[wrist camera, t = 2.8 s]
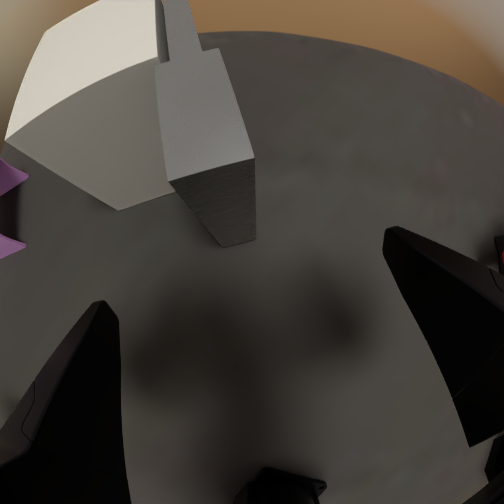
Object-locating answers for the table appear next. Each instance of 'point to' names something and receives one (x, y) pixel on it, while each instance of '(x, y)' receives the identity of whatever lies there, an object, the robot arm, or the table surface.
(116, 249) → the table surface
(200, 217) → the silver metal panel
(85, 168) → the white box
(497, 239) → the game console
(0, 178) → the toy chair
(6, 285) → the table surface
